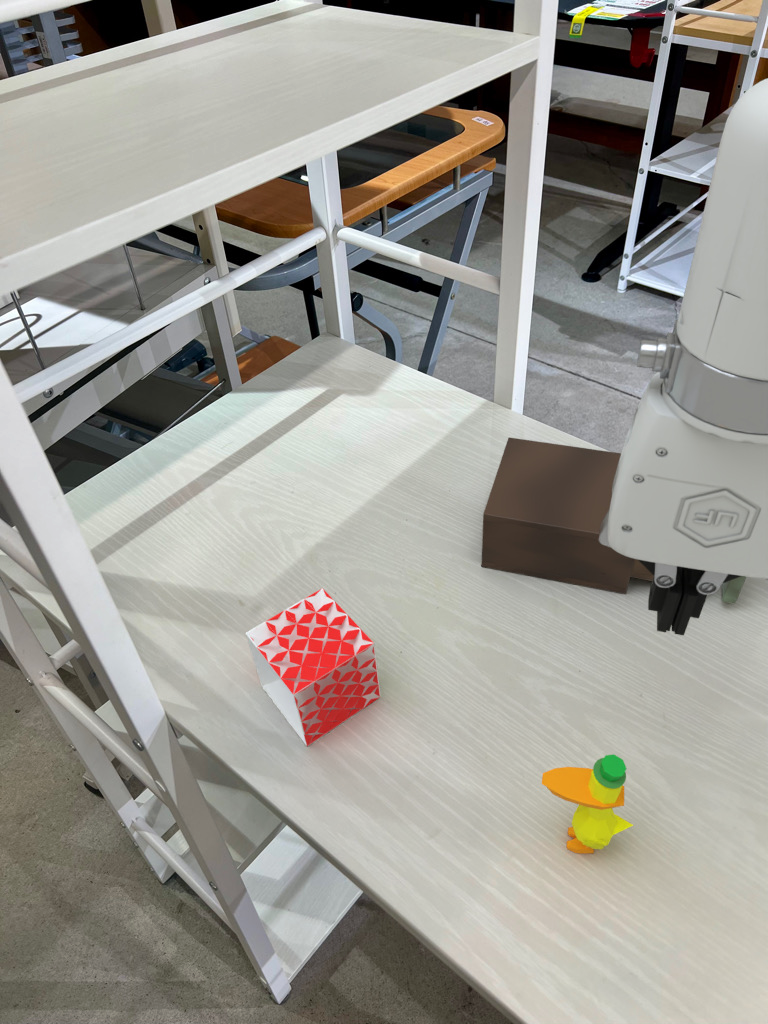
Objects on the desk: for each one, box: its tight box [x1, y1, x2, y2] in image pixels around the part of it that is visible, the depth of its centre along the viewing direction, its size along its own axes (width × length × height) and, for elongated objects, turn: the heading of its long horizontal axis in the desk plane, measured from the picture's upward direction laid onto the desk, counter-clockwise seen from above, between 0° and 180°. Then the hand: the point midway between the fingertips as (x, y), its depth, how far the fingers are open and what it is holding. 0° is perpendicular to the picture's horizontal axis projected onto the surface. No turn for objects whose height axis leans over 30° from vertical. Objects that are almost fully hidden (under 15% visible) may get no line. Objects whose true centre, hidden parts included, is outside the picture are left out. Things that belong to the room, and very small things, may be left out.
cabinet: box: [480, 436, 634, 595], centre depth 77 cm, size 15×13×8 cm
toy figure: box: [541, 754, 634, 855], centre depth 53 cm, size 7×4×12 cm, turn 76°
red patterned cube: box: [244, 587, 382, 747], centre depth 65 cm, size 8×8×8 cm
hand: (669, 615), depth 48 cm, fingers closed
